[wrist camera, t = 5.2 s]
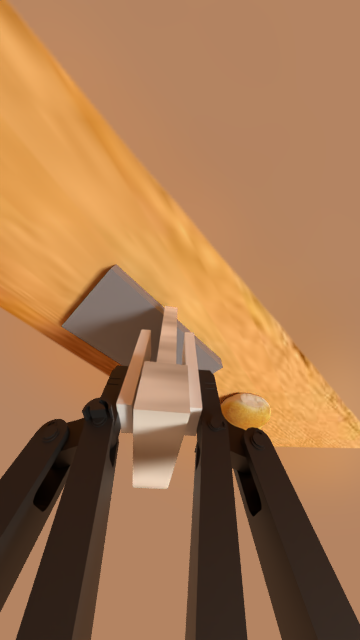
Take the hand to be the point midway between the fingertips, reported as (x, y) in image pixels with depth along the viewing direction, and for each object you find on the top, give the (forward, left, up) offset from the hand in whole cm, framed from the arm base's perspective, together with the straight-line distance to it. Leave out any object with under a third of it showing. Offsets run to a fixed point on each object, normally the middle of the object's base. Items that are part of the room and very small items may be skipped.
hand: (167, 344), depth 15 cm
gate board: (+3, -4, -6) cm, 7 cm away
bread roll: (+21, +3, -6) cm, 22 cm away
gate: (+3, -2, -4) cm, 5 cm away
